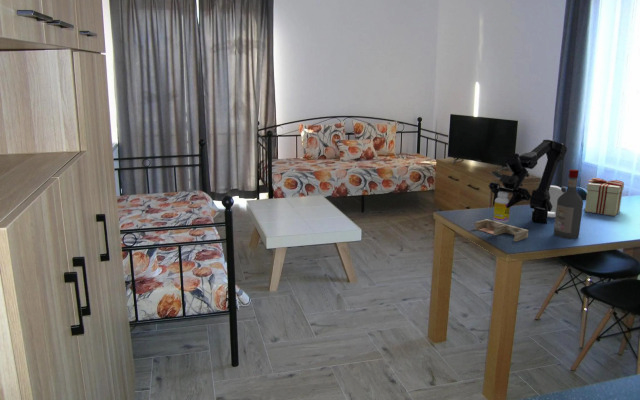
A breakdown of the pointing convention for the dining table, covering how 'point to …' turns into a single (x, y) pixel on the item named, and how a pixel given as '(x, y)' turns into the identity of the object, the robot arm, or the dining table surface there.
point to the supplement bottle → (501, 208)
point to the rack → (501, 229)
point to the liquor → (569, 210)
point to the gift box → (604, 196)
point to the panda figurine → (555, 198)
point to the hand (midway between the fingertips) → (500, 206)
